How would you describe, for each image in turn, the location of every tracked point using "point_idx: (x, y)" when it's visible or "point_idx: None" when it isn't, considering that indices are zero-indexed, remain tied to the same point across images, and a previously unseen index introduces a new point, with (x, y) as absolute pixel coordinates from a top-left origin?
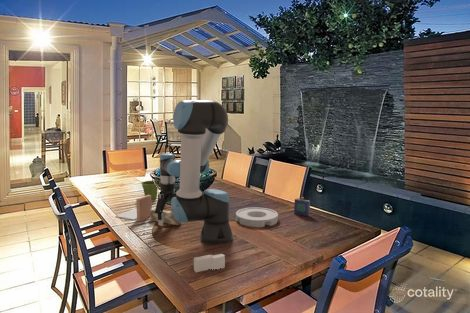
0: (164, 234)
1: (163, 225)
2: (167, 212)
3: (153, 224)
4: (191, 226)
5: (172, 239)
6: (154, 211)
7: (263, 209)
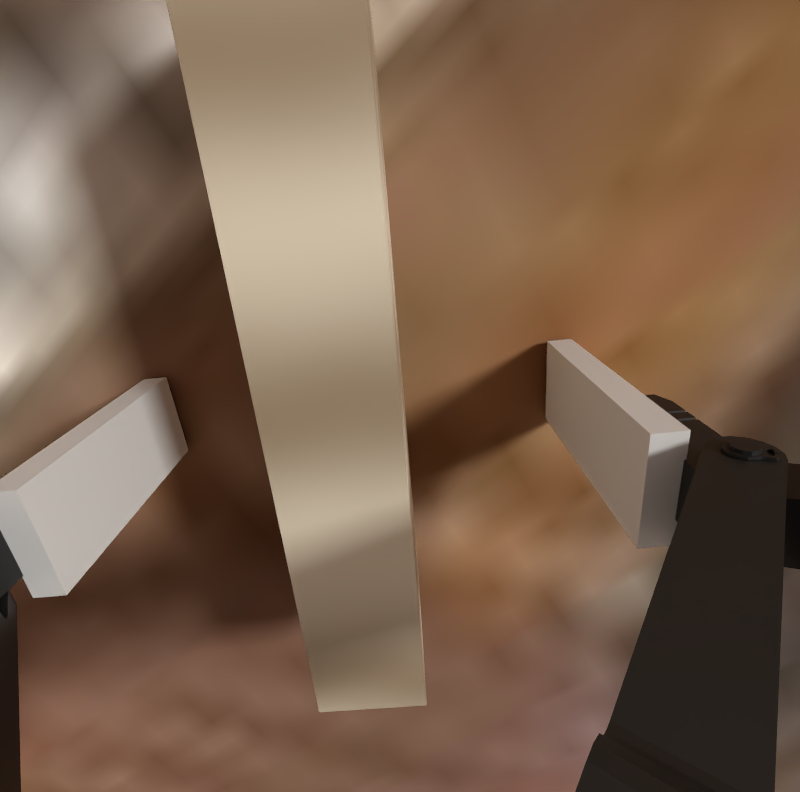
0: None
1: (186, 452)
2: (294, 512)
3: (126, 267)
4: None
5: None
6: (196, 88)
7: None
